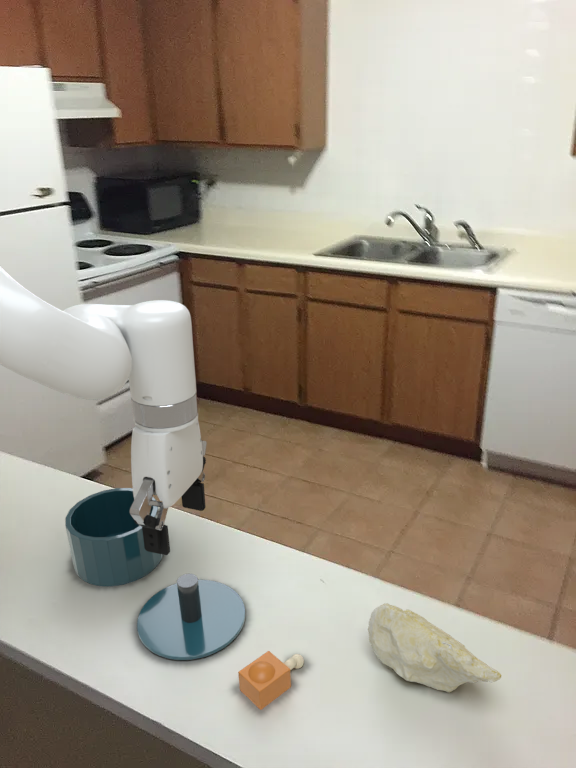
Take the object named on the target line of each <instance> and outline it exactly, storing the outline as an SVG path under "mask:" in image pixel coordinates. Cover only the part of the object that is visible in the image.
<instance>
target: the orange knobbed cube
mask: <svg viewBox="0 0 576 768" xmlns="http://www.w3.org/2000/svg"><path fill="white" fill-rule="evenodd" d="M304 662H305V659H304V657H303V656H302V655H301V654H300V653H295V654H292V656H291V657H289V658H288V659H286V660H285V661H284V662H283V661H281V659H279V658H278V657H277V656H276V655H275V654H273V652H271V651H270V650H267V651H266V652H265V653H263V654H262V655H260V656H259V657H257V658H256V659H255V660H253V661H252V662H250V663H249V664H247V665H246V666H245V667H243V668H241V669H240V670H239V671H238V672H237V674H238V683H239V684H238V685H239V691H240V692H241V693H242V694H243V695H244V696H245V697H246V698H248V700H250V702H251V703H252V704H254V706H255V707H257V708H258V709H259V710H260V711H262V710H263V709H264V708H266V707H267V706H269V705H270V704H271V703H272V702H274V701H276V699H277V698H279V697H280V696H282V695H283V694H284V693H285V692H287V691H288V690H289V689H291V688H292V679H291V677H292V675H291V671H292V670H294V669H295V670H296V669H297V670H299V669H300V668H302V667H303V666H304V664H305V663H304Z"/></svg>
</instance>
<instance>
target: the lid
mask: <svg viewBox="0 0 576 768" xmlns="http://www.w3.org/2000/svg"><path fill="white" fill-rule="evenodd" d="M245 621H246V607H245V603H244V601H243V599H242V597H241V596H240V594H239V593H238V592H237V591H236V590H235V589H233V588H232V587H231V586H229V585H226V584H224V583H223V582H219V581H215V580H210V579H199V578H198V576H197V575H196V574H194V573H184V574H181V575H180V576H179V577H177V580H176V583H173V584H171V585H168V586H166V587H164V588H162V589H161V590H159V591H158V592H156V593H155V594H153V595H152V596H151V597H150V598H149V599H148V600H147V601H146V602H145V604H143V606H142V608H141V609H140V612H139V613H138V616H137V621H136V628H137V629H136V630H137V634H138V637H139V640H140V642H141V643H142V644H143V646H144V647H145V649H147V650H148V651H149V652H151V653H153V654H155V655H157V656H159V657H162V658H163V659H169V660H175V661H190V660H197V659H202V658H205V657H208V656H211V655H213V654H216V653H218V652H220V651H221V650H223V649H224V648H226V647H227V646H229V645H231V643H233V641H234V640H235V639H236V638H237V637H238V636H239V634H240V633H241V631H242V630H243V627H244V625H245Z"/></svg>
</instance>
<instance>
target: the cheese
mask: <svg viewBox="0 0 576 768" xmlns="http://www.w3.org/2000/svg"><path fill="white" fill-rule="evenodd" d="M367 631H368V641H369V644H370V645H371V649H372V651H373V652H374V654H375V655H376V657H377V659H378V660H379V661H380V662H381V663H382V664H383V665H384V666H385V665H386V666H387V667H389V668H390V669H393V671H394V672H395V673H396V674H397V675H398V676H399V677H400V678H402V679H403V680H405V681H406V682H411V683H418V684H421V685H423V686H426V687H428V688H432V689H434V690H437V691H442V692H446V693H451V692H453V691H455V690H457V689H458V687H460V686H461V685H464V684H466V683H471V684H473V683H477V682H479V681H480V682H483V683H489V684H492V683H495V682H497V681H499V680H501V678H502V674H501V673H500V671H498V670H497V669H495V668H493V667H492V666H489V665H488V664H487V663H486V662H484V661H483V660H481V659H479V658H478V657H477V656H476V655H474V654H473V653H472V652H471V651H470V650H468V649H467V648H466V646H465V645H464V644H463V643H461V642H459V640H457V639H455V638H454V637H453V636H451V635H450V634H449V633H448V632H446V631H444V630H443V629H441V628H439V627H438V626H436V625H434V624H433V623H431V622H430V621H428V620H427V619H426V618H425V617H423V616H422V615H420V614H418V613H417V612H415V611H413V610H410V609H404V610H403V609H402V608H400V607H399V606H396V605H393V604H390V603H388V602H387V603H386V602H385V603H383V604H381V605H379V606H377V607H375V608H374V609H373V610H372V612H371V613H370V617H369V621H368V626H367Z"/></svg>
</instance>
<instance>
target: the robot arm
mask: <svg viewBox="0 0 576 768" xmlns="http://www.w3.org/2000/svg"><path fill="white" fill-rule="evenodd" d="M192 325H193V324H192V316H191V313H190V310H189V309H188V308H187V306H186V305H185V304H182V303H180V302H178V301H173V300H169V299H155V300H153V299H152V300H147V301H142V302H137V303H135V304H104V303H80V304H75V305H72V306H69V307H66V308H65V309H63V310H62V309H61V308H58V307H57V306H55V305H53V304H51V303H49V302H47V301H46V300H44V299H42V298H41V297H39V296H38V295H36V294H34V293H33V292H32V291H30V290H29V289H27V288H26V287H24V286H23V285H22V284H20V283H19V282H18V281H17V280H15V278H14V277H12V276H11V275H10V273H8V272H7V270H6V269H4V268H3V267H2V265H0V366H2V367H4V368H6V369H7V370H9V371H12V372H13V373H15V374H17V375H19V376H22V377H24V378H26V379H28V380H30V381H32V382H35V383H37V384H40V385H42V386H45V387H47V388H49V389H52V390H54V391H56V392H59V393H60V394H63V395H66V396H69V397H72V398H75V399H81V400H85V401H92V400H93V401H97V400H102V399H106V398H109V397H112V396H113V395H115V394H116V393H118V392H119V391H120V390H122V388H123V387H124V386H125V385H126V384H127V382H128V384H129V394H130V401H131V409H132V410H131V411H132V418H133V424H134V427H133V428H132V432H131V443H130V444H131V445H130V466H131V467H130V468H131V469H130V470H131V471H130V472H131V485H132V488H133V496H134V502H133V504H132V506H131V508H130V514H131V516H132V517H133V519H134V521H135V523H136V524H138V525H139V526H141V527H142V531H143V539H144V548H145V550H146V551H149V552H153V553H158V554H162V555H163V556H168V555H169V554H170V552H171V547H170V536H169V526H168V525H166V524H165V523H166V519H167V514H168V510H169V508H171V507H172V506H173V505H175V504H176V503H177V502H178V501H179V500H180V499H181V505H182V507H183V508H184V509H189V510H193V511H199V512H202V511H204V510H205V509H206V508H207V507H206V494H205V483H204V482H205V479H206V473H205V472H204V469H205V465H206V464H207V458H206V451H207V444H208V442H207V441H206V440H202V433H201V428H200V422H199V408H198V394H197V392H198V391H197V379H196V367H195V366H196V365H195V353H194V341H193V340H194V339H193V326H192ZM154 496H157V498H158V500H156V501H154V500H152V497H154ZM151 506H156V507H158V509H159V512H158V516H157V518H155V517H153V516H150V515H149V513H150V510H151Z"/></svg>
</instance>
